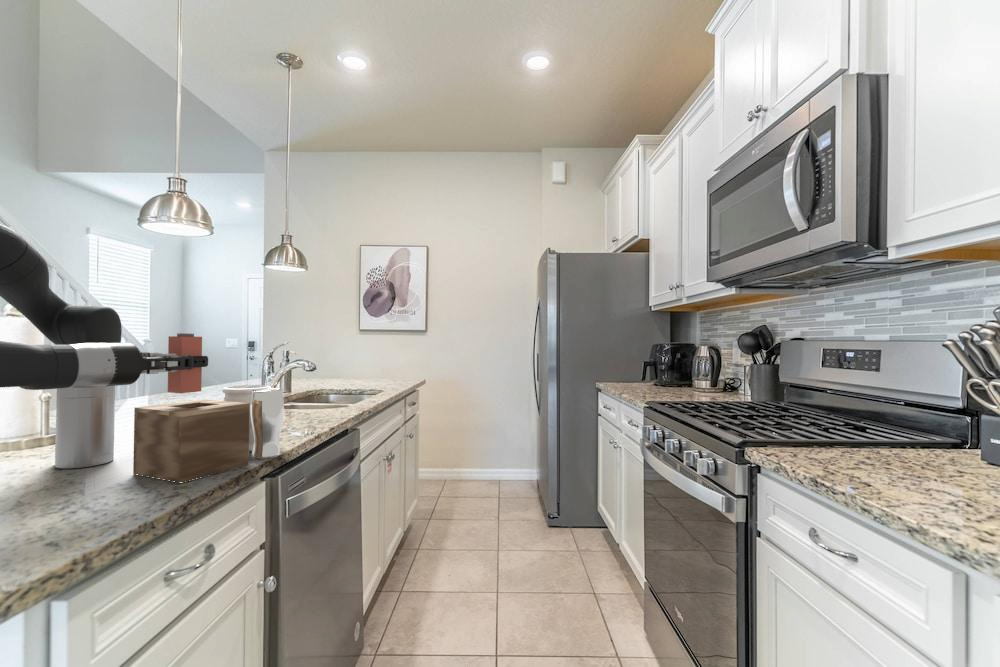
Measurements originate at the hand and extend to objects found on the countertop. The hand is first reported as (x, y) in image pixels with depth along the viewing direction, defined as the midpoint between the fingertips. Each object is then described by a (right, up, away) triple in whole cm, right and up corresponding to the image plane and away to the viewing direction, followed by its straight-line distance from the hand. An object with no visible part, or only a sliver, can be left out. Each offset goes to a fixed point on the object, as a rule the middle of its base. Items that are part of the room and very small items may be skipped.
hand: (198, 360), depth 94 cm
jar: (0, -22, +17) cm, 28 cm away
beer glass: (+9, -22, +10) cm, 26 cm away
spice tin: (-1, -6, -3) cm, 7 cm away
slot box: (0, -22, -1) cm, 22 cm away
